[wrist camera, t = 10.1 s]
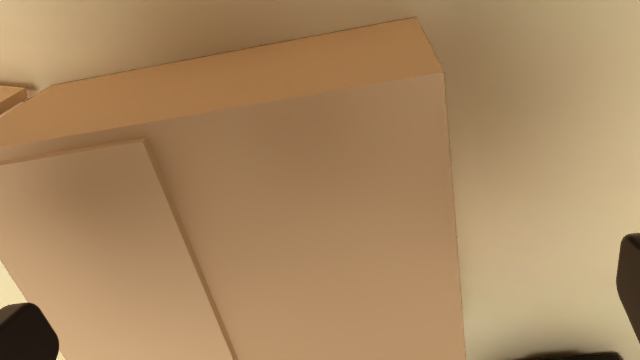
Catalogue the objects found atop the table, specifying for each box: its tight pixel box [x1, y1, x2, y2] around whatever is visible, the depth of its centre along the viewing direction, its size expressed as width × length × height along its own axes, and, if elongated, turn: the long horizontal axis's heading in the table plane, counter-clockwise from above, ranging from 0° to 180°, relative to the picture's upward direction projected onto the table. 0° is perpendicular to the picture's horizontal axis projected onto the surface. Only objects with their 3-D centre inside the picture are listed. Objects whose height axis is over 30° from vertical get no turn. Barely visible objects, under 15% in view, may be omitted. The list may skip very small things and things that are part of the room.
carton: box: [0, 17, 466, 360], centre depth 21 cm, size 20×19×6 cm
